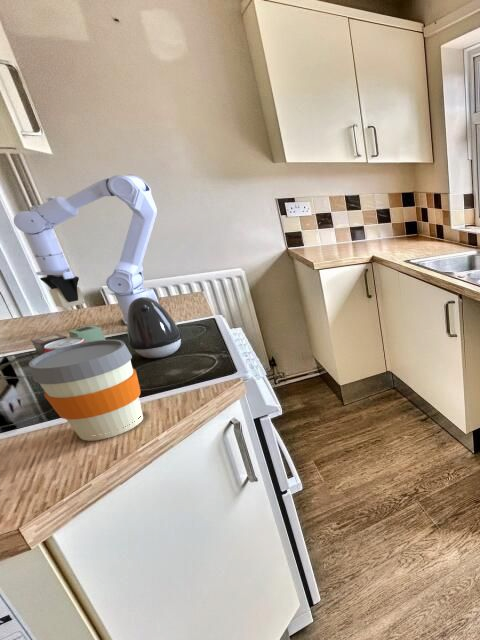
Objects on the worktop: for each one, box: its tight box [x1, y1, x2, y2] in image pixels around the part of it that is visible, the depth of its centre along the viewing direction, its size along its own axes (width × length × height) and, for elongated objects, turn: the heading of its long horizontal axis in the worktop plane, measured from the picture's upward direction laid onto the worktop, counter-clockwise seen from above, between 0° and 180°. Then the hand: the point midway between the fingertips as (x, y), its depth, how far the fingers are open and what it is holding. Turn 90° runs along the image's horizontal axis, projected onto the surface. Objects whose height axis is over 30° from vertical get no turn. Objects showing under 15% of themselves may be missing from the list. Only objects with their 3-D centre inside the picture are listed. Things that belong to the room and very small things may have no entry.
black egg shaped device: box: [126, 297, 182, 359], centre depth 105 cm, size 10×10×15 cm
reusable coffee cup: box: [28, 339, 144, 442], centre depth 75 cm, size 13×13×15 cm
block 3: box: [67, 324, 107, 342], centre depth 113 cm, size 5×5×5 cm
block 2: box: [48, 286, 86, 309], centre depth 126 cm, size 5×5×5 cm
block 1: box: [31, 333, 68, 356], centre depth 107 cm, size 5×5×5 cm
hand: (69, 300), depth 126 cm, fingers closed on block 2, 5 cm apart
